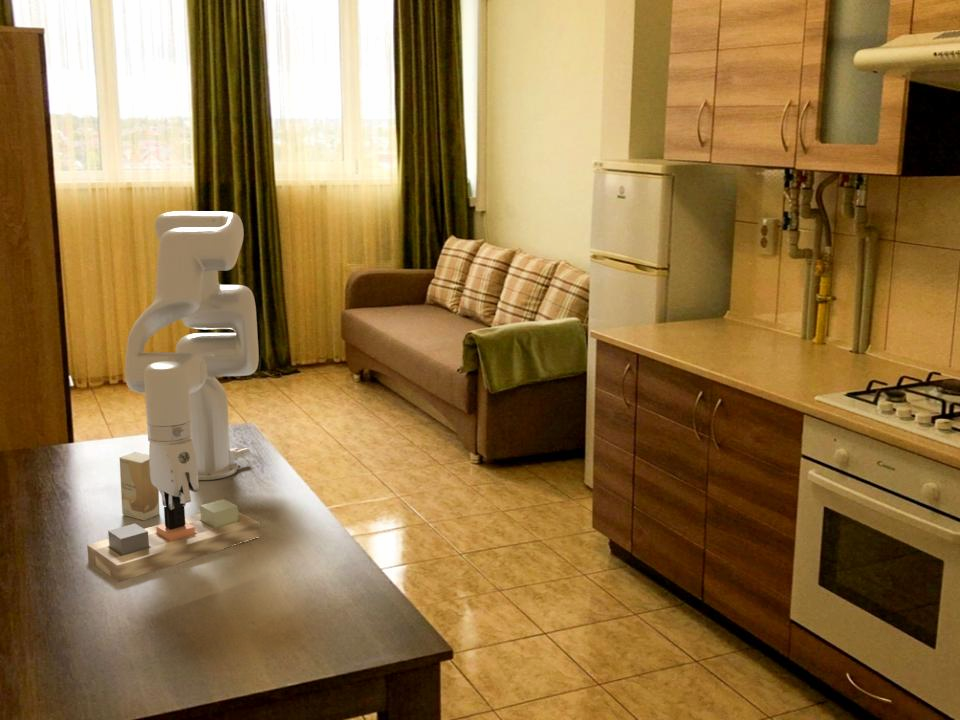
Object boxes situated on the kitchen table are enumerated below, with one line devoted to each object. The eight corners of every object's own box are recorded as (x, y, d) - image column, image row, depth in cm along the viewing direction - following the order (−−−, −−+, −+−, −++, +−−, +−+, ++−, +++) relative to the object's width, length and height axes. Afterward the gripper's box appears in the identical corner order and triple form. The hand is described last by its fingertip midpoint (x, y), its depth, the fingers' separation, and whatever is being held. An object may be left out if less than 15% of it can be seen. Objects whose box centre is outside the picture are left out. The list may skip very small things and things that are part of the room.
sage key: (224, 517, 197) (223, 499, 196) (238, 525, 193) (237, 506, 192) (201, 524, 193) (200, 505, 193) (214, 532, 190) (213, 512, 189)
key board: (227, 520, 201) (226, 505, 201) (260, 537, 193) (259, 522, 192) (88, 560, 182) (87, 544, 182) (118, 581, 174) (117, 565, 173)
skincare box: (121, 515, 203) (117, 457, 200) (138, 508, 207) (134, 450, 204) (145, 521, 200) (141, 462, 198) (161, 514, 204) (157, 456, 201)
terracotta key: (182, 538, 191) (181, 519, 190) (195, 546, 188) (194, 526, 187) (157, 545, 188) (156, 526, 187) (170, 553, 184) (169, 534, 183)
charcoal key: (136, 543, 185) (134, 523, 184) (149, 551, 181) (148, 531, 180) (109, 550, 181) (108, 530, 180) (122, 559, 178) (120, 539, 177)
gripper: (209, 435, 180) (214, 533, 184) (168, 418, 190) (174, 510, 194) (170, 444, 175) (176, 544, 179) (130, 425, 185) (137, 520, 189)
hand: (175, 526), depth 187 cm, fingers closed
